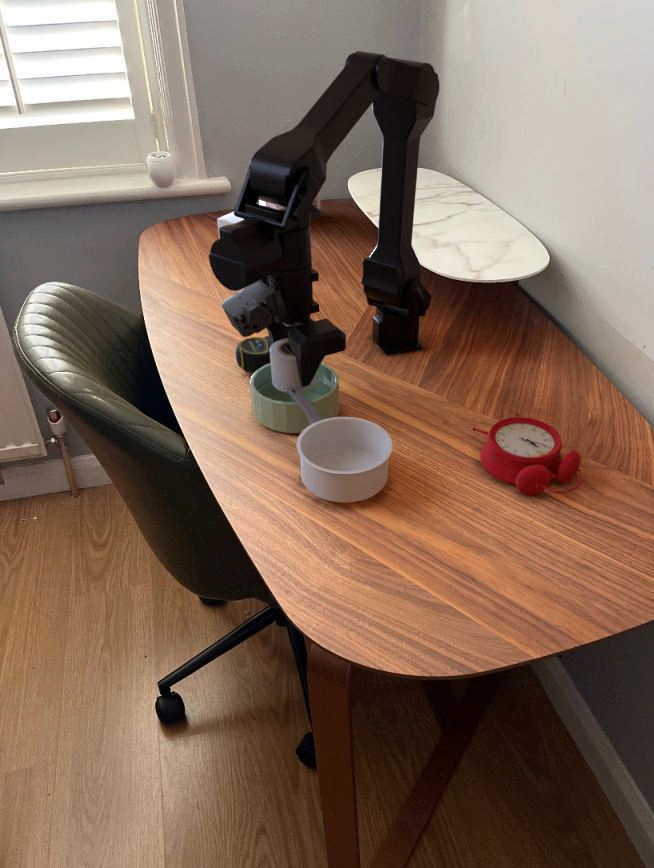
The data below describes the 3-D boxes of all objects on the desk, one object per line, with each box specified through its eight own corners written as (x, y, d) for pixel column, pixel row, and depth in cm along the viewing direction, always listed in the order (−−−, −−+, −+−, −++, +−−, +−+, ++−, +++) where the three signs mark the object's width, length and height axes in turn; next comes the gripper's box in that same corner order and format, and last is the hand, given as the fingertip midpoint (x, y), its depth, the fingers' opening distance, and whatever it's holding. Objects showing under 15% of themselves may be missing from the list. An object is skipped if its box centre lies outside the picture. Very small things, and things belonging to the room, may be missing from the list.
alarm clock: (524, 405, 100) (607, 439, 88) (524, 447, 103) (604, 486, 91) (461, 425, 96) (539, 464, 84) (463, 469, 99) (538, 512, 87)
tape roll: (310, 366, 105) (308, 333, 101) (323, 388, 100) (322, 354, 97) (267, 374, 103) (264, 341, 100) (279, 396, 99) (276, 362, 95)
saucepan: (329, 410, 104) (329, 376, 100) (408, 491, 92) (411, 454, 88) (254, 434, 100) (250, 398, 96) (326, 522, 87) (325, 485, 83)
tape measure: (286, 375, 112) (285, 352, 110) (241, 381, 111) (239, 358, 108) (276, 353, 117) (275, 331, 115) (233, 359, 116) (231, 337, 113)
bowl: (323, 383, 111) (322, 353, 107) (350, 426, 102) (350, 394, 99) (244, 397, 107) (241, 366, 104) (265, 443, 99) (262, 411, 96)
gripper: (197, 248, 94) (212, 359, 104) (259, 305, 82) (269, 425, 92) (278, 233, 98) (285, 341, 108) (348, 285, 86) (348, 401, 96)
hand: (294, 374), depth 101 cm, fingers closed on tape roll, 6 cm apart
